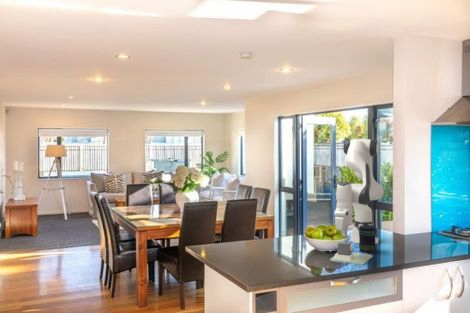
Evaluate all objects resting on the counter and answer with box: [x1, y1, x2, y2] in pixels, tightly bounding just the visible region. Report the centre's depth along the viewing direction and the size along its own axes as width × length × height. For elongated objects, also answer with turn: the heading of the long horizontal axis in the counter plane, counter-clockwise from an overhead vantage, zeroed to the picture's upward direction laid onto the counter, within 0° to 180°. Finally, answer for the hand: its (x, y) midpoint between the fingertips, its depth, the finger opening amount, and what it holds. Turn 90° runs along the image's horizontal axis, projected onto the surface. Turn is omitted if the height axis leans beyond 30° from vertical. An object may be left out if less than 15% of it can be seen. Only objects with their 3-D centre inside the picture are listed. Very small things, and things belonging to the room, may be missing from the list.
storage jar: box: [358, 225, 377, 254], centre depth 264 cm, size 10×10×15 cm
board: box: [329, 248, 373, 266], centre depth 246 cm, size 20×18×4 cm
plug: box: [337, 241, 352, 256], centre depth 244 cm, size 4×6×8 cm, turn 59°
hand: (344, 235), depth 246 cm, fingers closed
